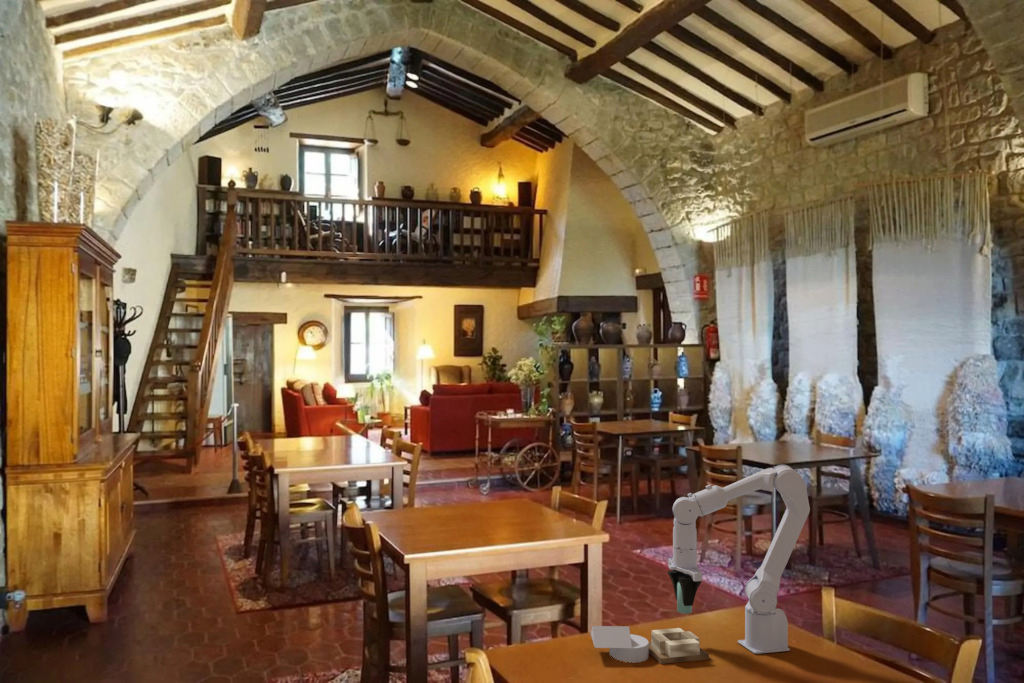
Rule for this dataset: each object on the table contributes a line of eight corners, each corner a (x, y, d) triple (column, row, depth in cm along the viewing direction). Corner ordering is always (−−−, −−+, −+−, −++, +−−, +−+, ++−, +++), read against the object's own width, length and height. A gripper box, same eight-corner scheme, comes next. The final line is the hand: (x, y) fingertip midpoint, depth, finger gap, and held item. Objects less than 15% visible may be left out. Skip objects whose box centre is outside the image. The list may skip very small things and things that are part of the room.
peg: (687, 608, 190) (687, 580, 190) (694, 613, 186) (694, 584, 187) (674, 609, 189) (674, 581, 189) (681, 614, 185) (681, 585, 186)
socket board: (688, 643, 186) (688, 627, 186) (708, 659, 176) (708, 641, 176) (642, 647, 183) (642, 630, 183) (660, 663, 173) (660, 646, 174)
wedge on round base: (594, 662, 174) (651, 663, 174) (594, 632, 174) (651, 633, 174) (590, 647, 183) (644, 648, 183) (590, 619, 183) (644, 620, 183)
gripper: (657, 541, 194) (657, 594, 194) (683, 555, 180) (682, 613, 180) (682, 539, 196) (682, 593, 195) (710, 553, 182) (710, 611, 181)
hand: (684, 602), depth 188 cm, fingers closed on peg, 3 cm apart
